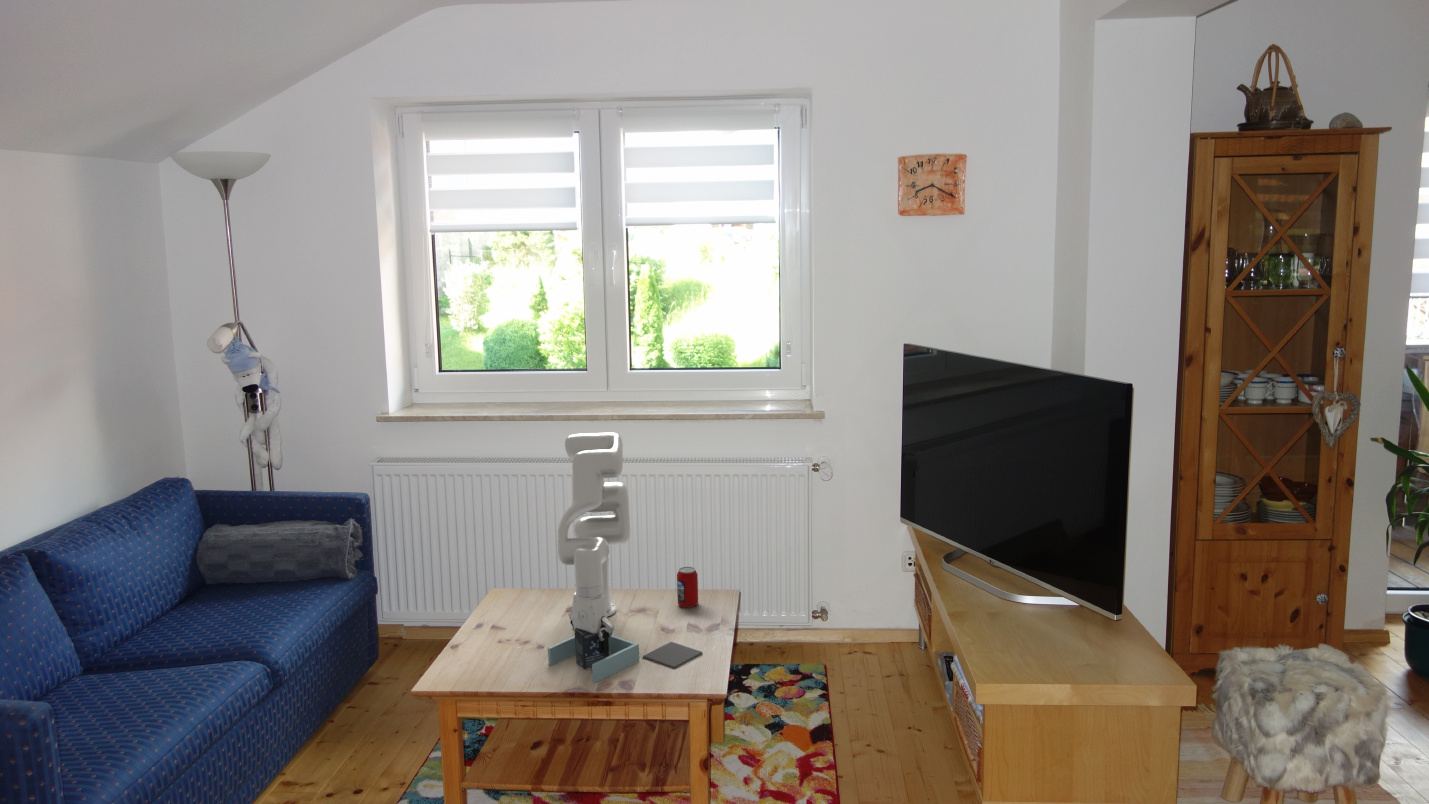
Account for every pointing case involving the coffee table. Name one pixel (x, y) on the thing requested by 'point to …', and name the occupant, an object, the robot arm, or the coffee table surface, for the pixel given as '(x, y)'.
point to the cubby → (621, 658)
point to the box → (587, 648)
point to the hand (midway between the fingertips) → (592, 647)
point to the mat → (672, 655)
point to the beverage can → (687, 587)
